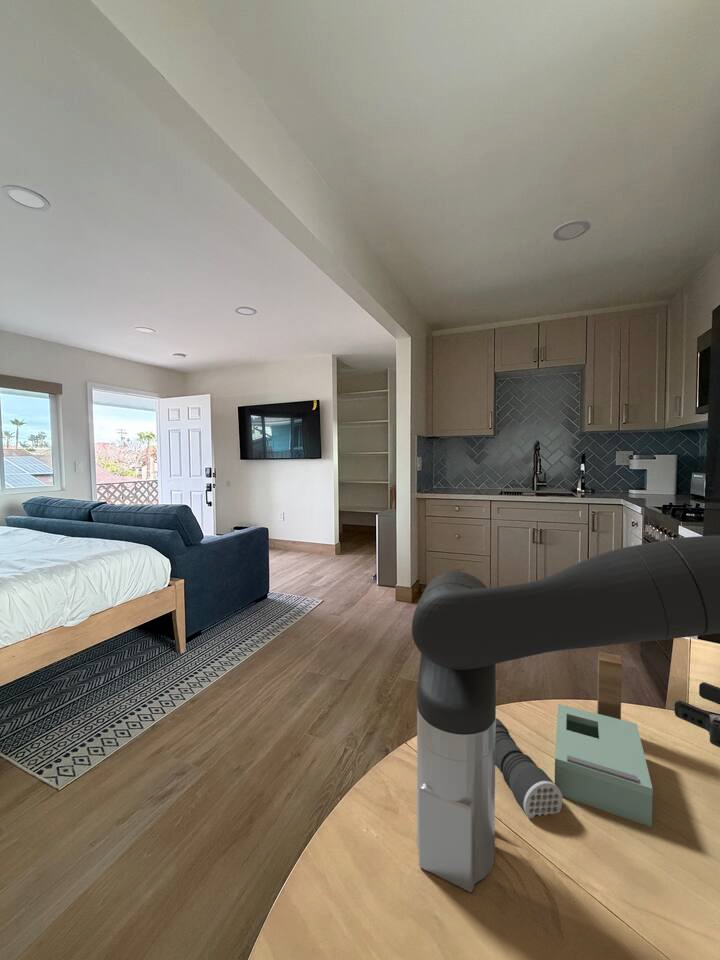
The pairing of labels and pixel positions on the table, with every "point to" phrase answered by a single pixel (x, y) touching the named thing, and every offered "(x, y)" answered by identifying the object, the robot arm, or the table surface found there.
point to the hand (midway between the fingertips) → (688, 697)
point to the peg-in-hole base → (602, 764)
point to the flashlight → (525, 777)
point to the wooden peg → (609, 685)
